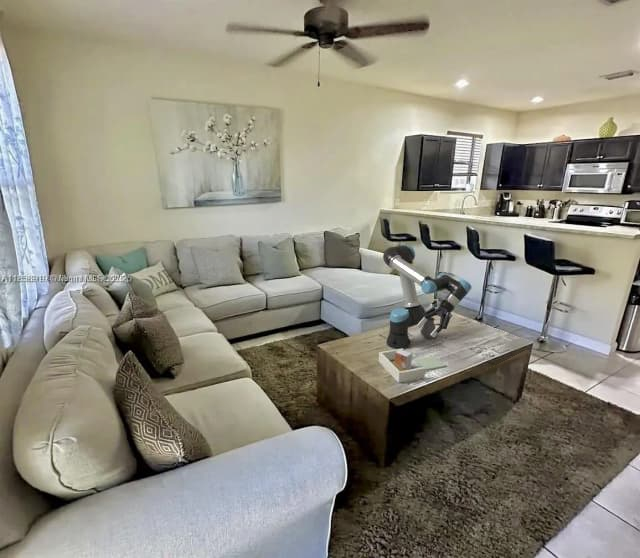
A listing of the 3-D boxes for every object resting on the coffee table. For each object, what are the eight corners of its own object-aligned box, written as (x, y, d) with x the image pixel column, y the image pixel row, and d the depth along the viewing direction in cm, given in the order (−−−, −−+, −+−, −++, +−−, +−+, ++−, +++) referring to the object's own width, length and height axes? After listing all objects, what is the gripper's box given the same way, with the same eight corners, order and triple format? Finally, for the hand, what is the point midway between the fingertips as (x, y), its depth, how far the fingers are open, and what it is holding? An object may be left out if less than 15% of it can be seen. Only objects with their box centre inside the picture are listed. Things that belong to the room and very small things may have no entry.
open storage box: (378, 361, 213) (379, 352, 212) (402, 357, 218) (402, 348, 216) (398, 382, 191) (399, 373, 189) (424, 377, 195) (425, 368, 194)
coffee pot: (416, 334, 249) (417, 314, 245) (430, 331, 253) (431, 311, 248) (435, 347, 230) (437, 325, 225) (450, 344, 233) (452, 323, 229)
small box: (393, 368, 206) (394, 351, 203) (399, 364, 209) (400, 348, 206) (405, 373, 200) (406, 356, 197) (411, 369, 204) (412, 353, 201)
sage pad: (413, 360, 213) (413, 359, 213) (434, 357, 217) (434, 355, 217) (425, 370, 202) (425, 369, 202) (446, 366, 206) (446, 365, 206)
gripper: (467, 314, 192) (442, 344, 192) (440, 300, 215) (416, 326, 215) (460, 306, 189) (434, 336, 189) (432, 293, 212) (409, 319, 212)
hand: (424, 331), depth 202 cm, fingers open, 13 cm apart
